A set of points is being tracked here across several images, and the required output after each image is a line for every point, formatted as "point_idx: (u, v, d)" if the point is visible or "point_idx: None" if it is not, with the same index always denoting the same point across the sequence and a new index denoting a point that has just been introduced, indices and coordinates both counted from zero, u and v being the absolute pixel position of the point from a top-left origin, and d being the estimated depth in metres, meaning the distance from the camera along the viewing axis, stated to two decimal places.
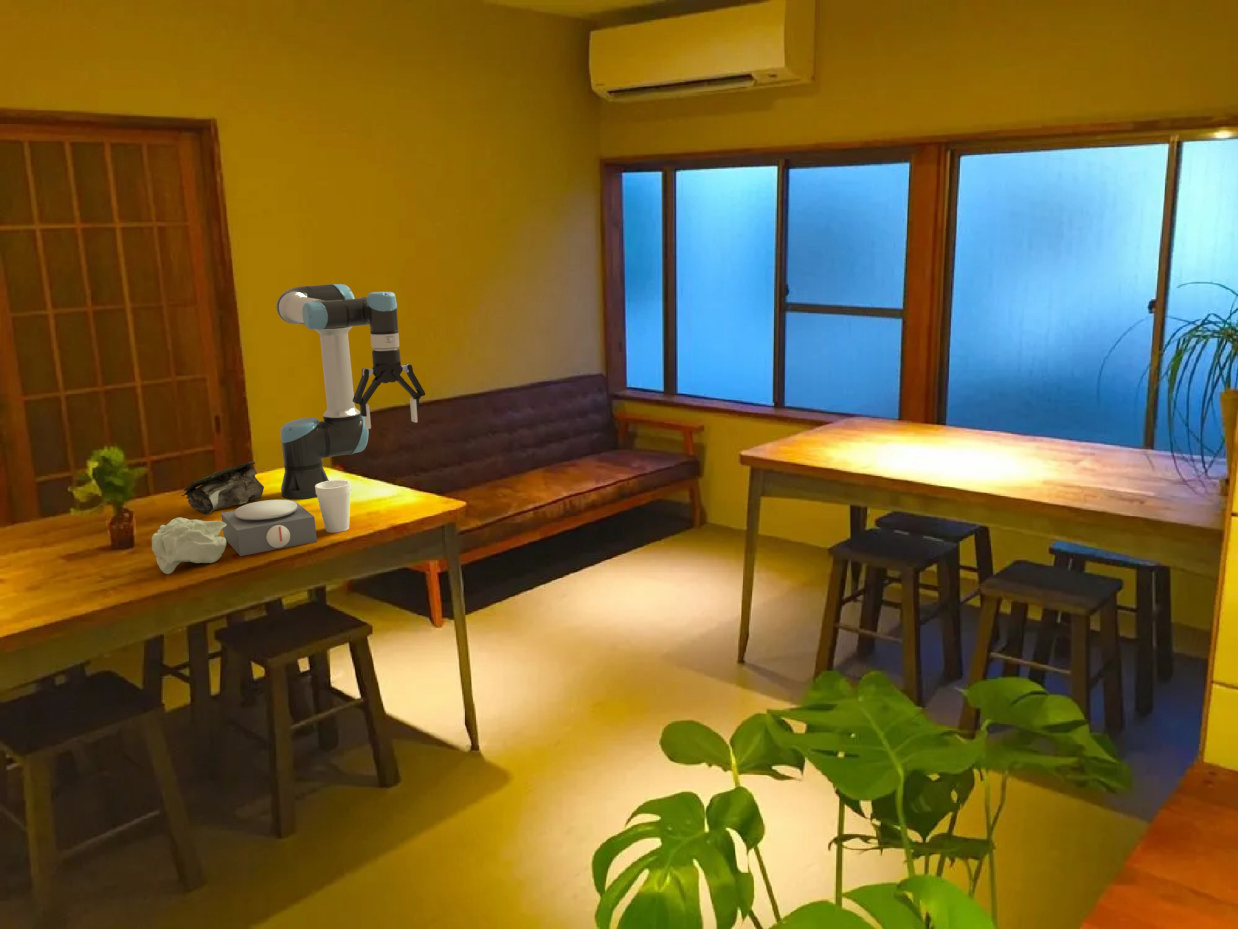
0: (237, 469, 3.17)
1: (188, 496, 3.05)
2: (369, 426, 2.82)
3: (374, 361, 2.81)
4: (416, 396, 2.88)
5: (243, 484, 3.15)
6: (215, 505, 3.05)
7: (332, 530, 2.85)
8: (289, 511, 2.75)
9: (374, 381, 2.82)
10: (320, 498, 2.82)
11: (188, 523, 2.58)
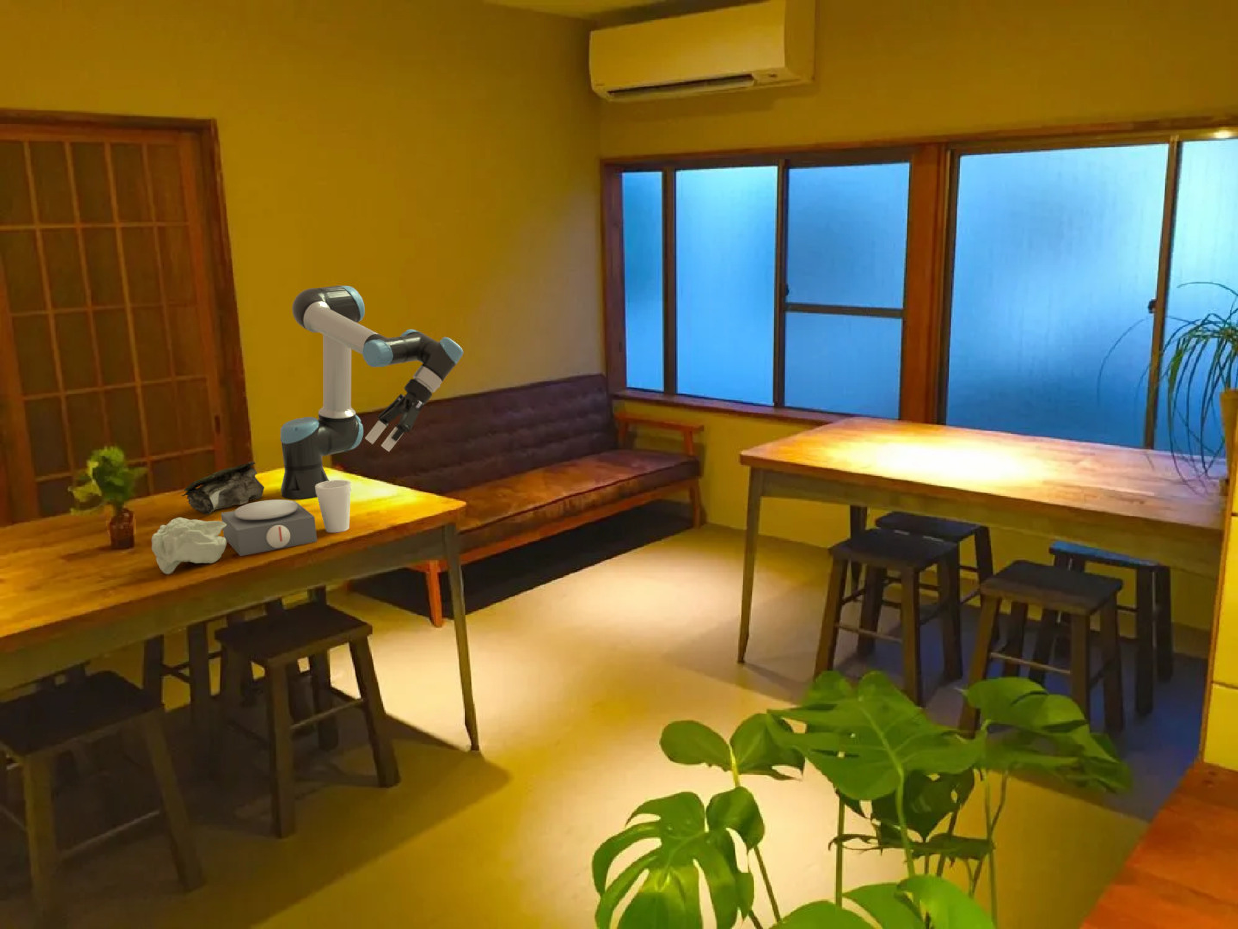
0: (237, 469, 3.17)
1: (188, 496, 3.05)
2: None
3: (422, 397, 2.90)
4: None
5: (244, 484, 3.15)
6: (215, 505, 3.05)
7: (332, 530, 2.85)
8: (289, 511, 2.75)
9: (409, 411, 2.88)
10: (320, 498, 2.82)
11: (188, 524, 2.58)
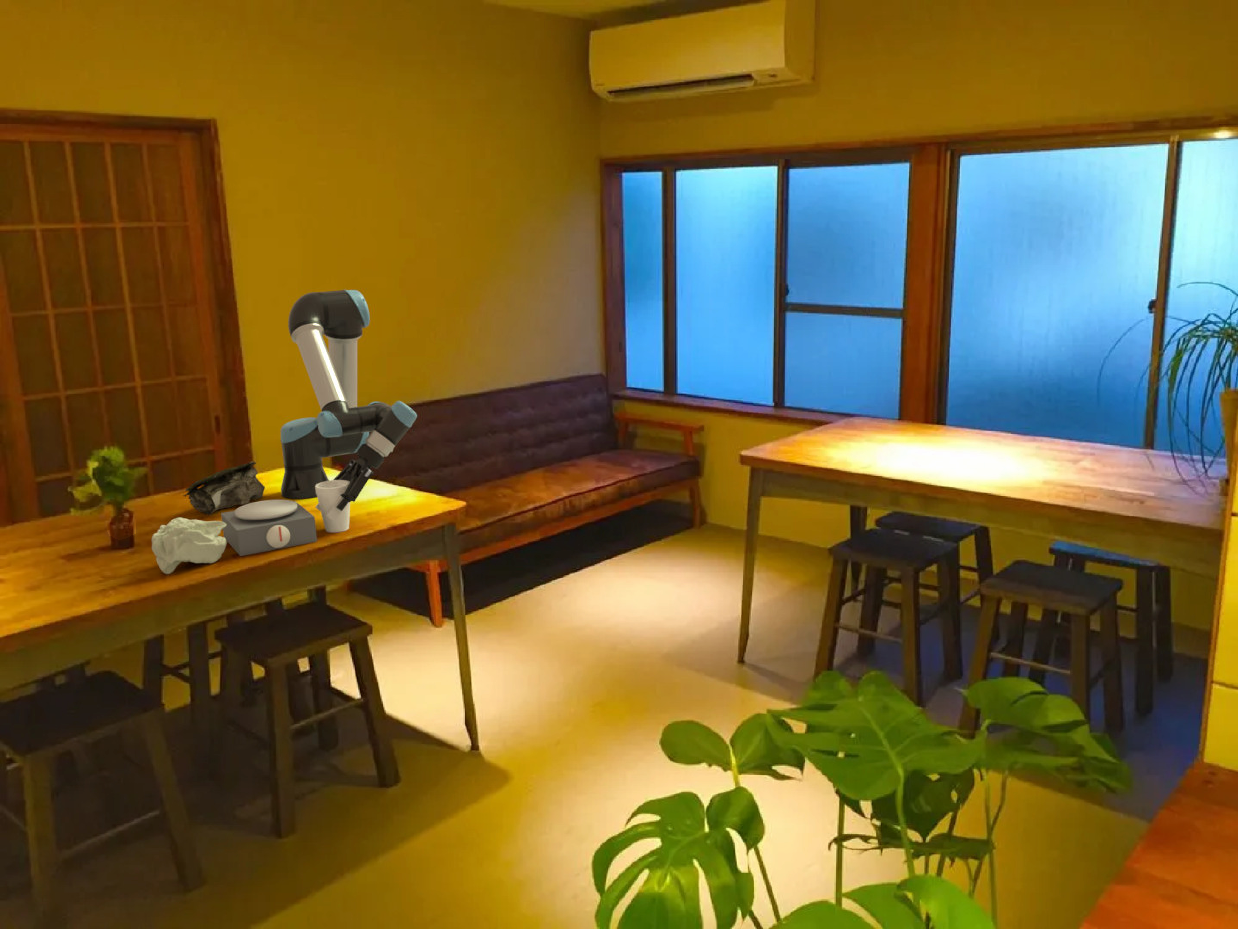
0: (238, 469, 3.17)
1: (190, 496, 3.04)
2: None
3: (373, 462, 2.86)
4: None
5: (245, 484, 3.15)
6: (217, 505, 3.05)
7: (332, 530, 2.85)
8: (289, 511, 2.75)
9: None
10: (320, 498, 2.82)
11: (188, 524, 2.58)
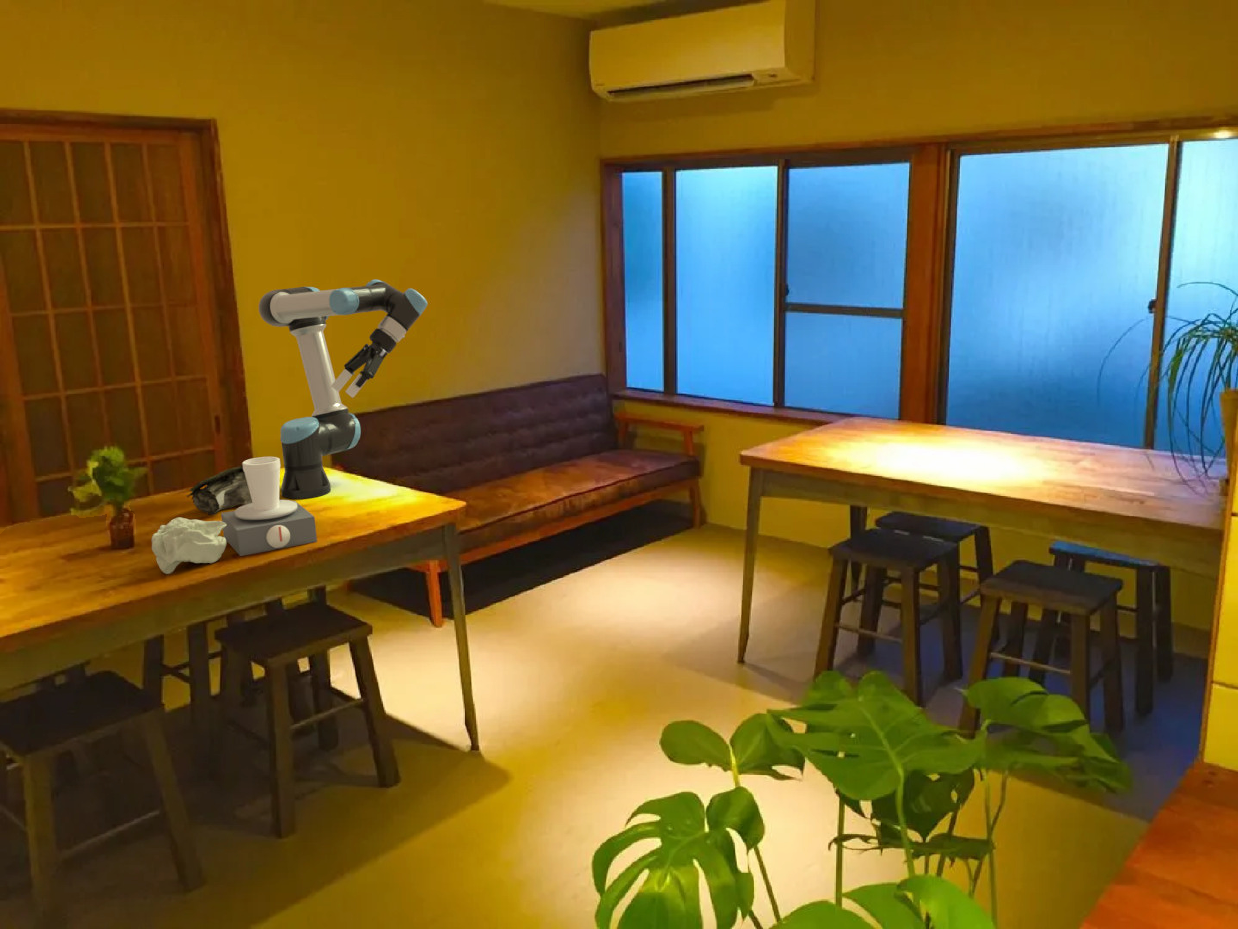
0: (240, 469, 3.17)
1: (193, 496, 3.04)
2: None
3: (386, 345, 2.98)
4: (352, 372, 3.06)
5: None
6: (221, 505, 3.05)
7: (260, 508, 2.75)
8: (289, 511, 2.75)
9: (373, 359, 2.97)
10: (247, 475, 2.73)
11: (188, 523, 2.58)
